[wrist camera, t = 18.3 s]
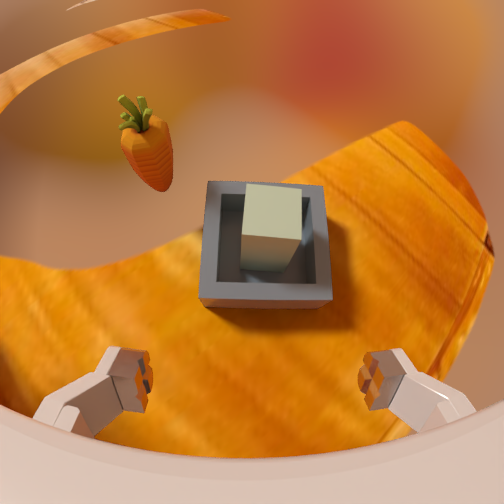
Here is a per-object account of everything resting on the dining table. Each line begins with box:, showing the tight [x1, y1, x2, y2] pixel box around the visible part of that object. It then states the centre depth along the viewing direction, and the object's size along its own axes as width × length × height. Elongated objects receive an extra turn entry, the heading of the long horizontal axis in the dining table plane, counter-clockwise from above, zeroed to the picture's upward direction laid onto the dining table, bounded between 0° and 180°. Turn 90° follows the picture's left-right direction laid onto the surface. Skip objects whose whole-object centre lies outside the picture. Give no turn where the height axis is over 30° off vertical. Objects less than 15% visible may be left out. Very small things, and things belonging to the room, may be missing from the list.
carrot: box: [118, 95, 173, 192], centre depth 27 cm, size 5×5×15 cm
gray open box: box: [199, 181, 333, 309], centre depth 30 cm, size 12×12×5 cm
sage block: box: [240, 184, 302, 273], centre depth 27 cm, size 4×4×9 cm
